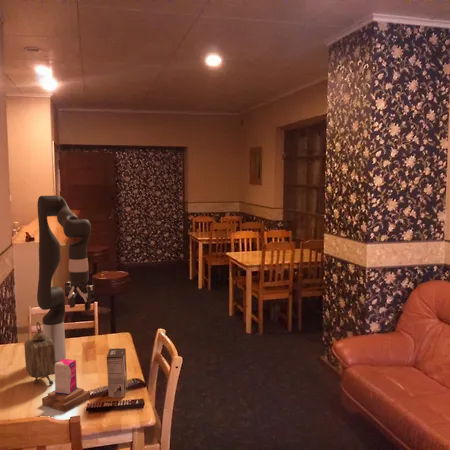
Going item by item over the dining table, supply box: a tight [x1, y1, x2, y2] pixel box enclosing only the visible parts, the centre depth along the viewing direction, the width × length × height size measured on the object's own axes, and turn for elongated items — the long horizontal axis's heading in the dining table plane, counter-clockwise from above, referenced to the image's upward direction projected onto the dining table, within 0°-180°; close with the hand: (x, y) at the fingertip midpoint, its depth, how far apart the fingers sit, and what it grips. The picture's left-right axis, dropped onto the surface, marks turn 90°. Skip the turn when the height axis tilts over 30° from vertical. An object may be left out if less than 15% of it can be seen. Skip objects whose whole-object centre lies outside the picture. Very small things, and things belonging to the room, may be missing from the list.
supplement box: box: [54, 358, 78, 395], centre depth 187 cm, size 6×6×12 cm
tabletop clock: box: [23, 321, 57, 386], centre depth 205 cm, size 14×9×25 cm, turn 32°
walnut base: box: [41, 386, 91, 413], centre depth 188 cm, size 12×12×4 cm
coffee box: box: [106, 347, 128, 398], centre depth 194 cm, size 9×6×16 cm
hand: (80, 308), depth 202 cm, fingers open, 8 cm apart
